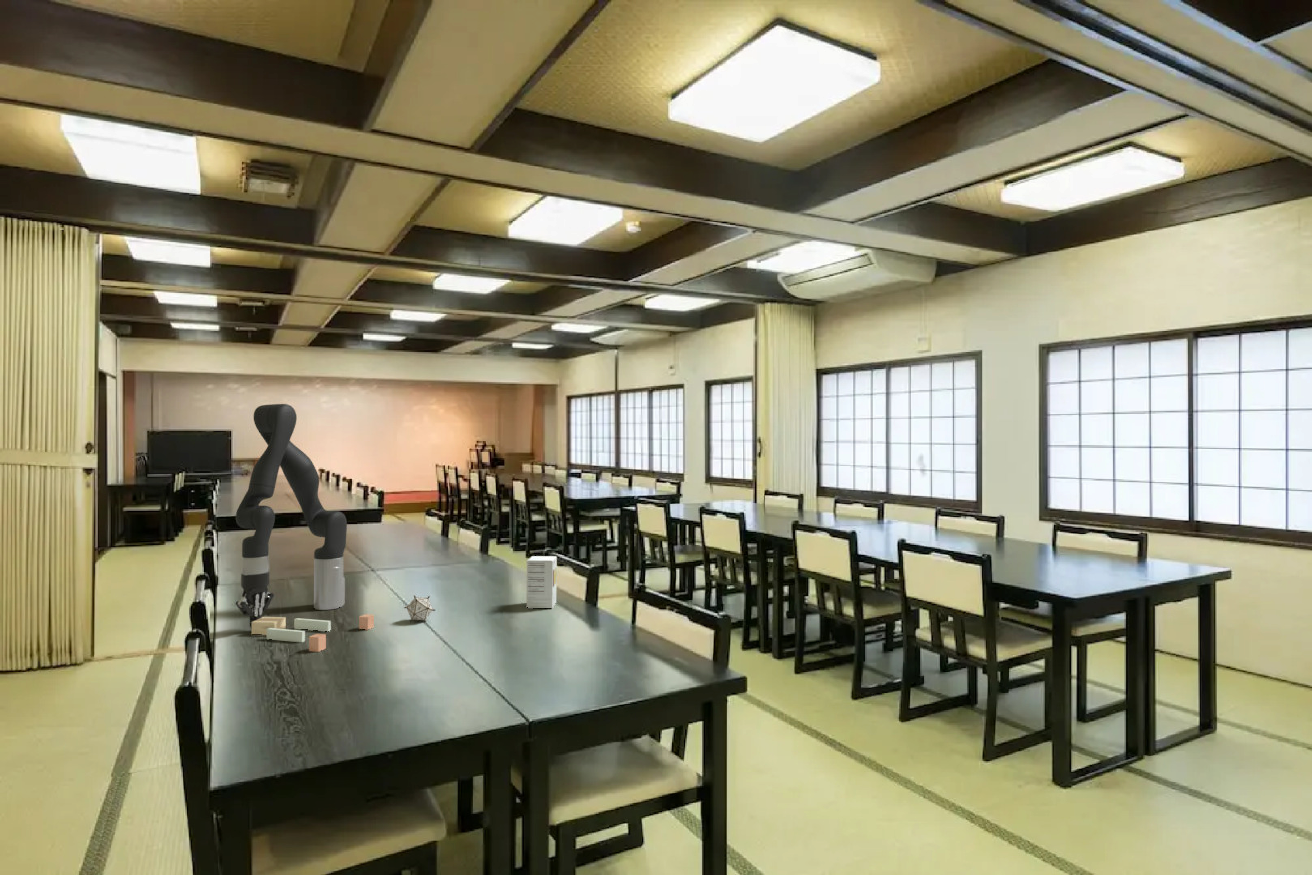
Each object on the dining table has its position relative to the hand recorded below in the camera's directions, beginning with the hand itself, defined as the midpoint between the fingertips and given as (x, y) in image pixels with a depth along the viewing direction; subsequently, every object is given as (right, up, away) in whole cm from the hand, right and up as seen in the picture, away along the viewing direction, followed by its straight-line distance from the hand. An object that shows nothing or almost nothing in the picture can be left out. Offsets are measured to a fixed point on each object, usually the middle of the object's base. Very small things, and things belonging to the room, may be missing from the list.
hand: (255, 627), depth 217 cm
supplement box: (+82, -2, +34) cm, 89 cm away
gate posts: (+30, -1, -7) cm, 31 cm away
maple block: (+5, -1, -1) cm, 5 cm away
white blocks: (+15, -1, -4) cm, 16 cm away
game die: (+46, -2, +13) cm, 48 cm away
